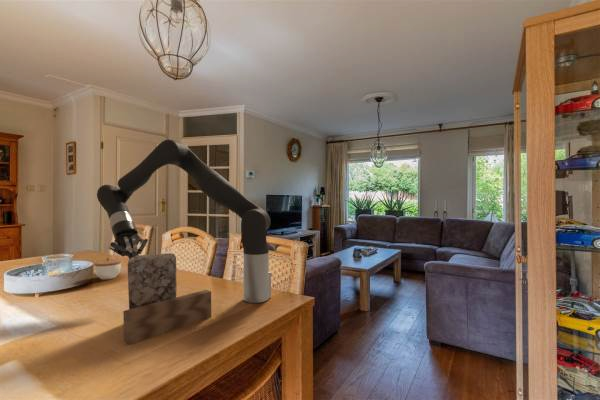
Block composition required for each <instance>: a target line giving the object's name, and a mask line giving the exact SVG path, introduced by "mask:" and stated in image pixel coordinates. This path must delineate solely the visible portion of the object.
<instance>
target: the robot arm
mask: <svg viewBox="0 0 600 400" xmlns="http://www.w3.org/2000/svg"><path fill="white" fill-rule="evenodd" d="M166 165H173V166H176V167H179V168H180V169H182V170H183V171H184V172H186V174H188V175H189V176H191V178H192V179H193V181H194V183H195V185H196V186H197V188H198V189H199V190H200V192H202V193H203V194H204V195H205V196H206V197H208V198H209V199H210V200H212V201H213V202H215V203H216V204H218V205H219V206H221V207H223V208H226V209H227V210H230V211H231V212H233V213H234V214H235V215H237V216H238V217H239V218H240V219H241V220H240V221H241V222H240V233H241V235H240V237H241V246H242V249H243V301H244V302H246V303H250V304H258V303H264V302H266V301H268V300H269V299H270V298H272V273H271V271H270V261H269V259H270V254H269V253H270V252H269V250H270V247H269V244H268V243H267V242H268V240H267V230H269V228H270V226H271V224H272V223H271V217H270V215H269V214H268V212H267V211H266V210H264V209H263V208H261V207H260V206H259V205H257V204H255V203H254V202H252V201H251V200H250V199H248V198H247V197H245V195H244V194H243V193H242V192H241V191H239V190H238V189H237V188H236V186H234V185H232V183H230V182H229V181H228V180H227V179H226V178H225V177H223V176H222V175H221V174H220V173H218V172H217V171H216V170H215V169H213V168H212V167H210V166H209V165H207V164H206V163H205V162H203V161H202V160H201V159H200V158H199V157H198V155H196V154H195V153H194V152H193V151H192V150H191V149H190V147H188V146H187V145H186V144H185V143H183V142H182V141H181V142H180V141H177V140H173V139H165V140H162V141H161V142H160V143H159V144H158V145H157V146H156V147H155V148H154V149H153V150H152V151H151V152H150V153H149V154H148V155H147V156H146V157H145V158H144V159H143V160H142V161H141V162H140V163H139V164H138V165H137V166H136V167H134V168H133V169H131V170H129V172H127V173H126V174H124V175H123V176H122V177H121V178H119V180H118V181H117V187H115V186H113V185H109V184H104V185H103V184H102V185H101V186H99V188H98V189H97V192H96V198H97V201H98V203H99V204H100V205H101V207H102V208H103V209H104V210H105V212H106V213H107V216H108V219H109V225H110V229H111V231H112V235H113V237H114V241H111V242H110V244H109V250H111V251H112V252H115V253H116V254H117V255H119V256H121V257H128V260H129V259H130V258H132V257H135V256H138V255H142V253H143V251H144V250H145V247H146V245H148V241H149V239H148V238H145V239H144V238H142V237H141V235H139V233H138V230H137V227H136V224H135V221H134V219H133V217H132V215H131V213H130V211H129V208H128V206H127V205H126V203H127V202H128V201H129V199H130V198H131V196H132V195H133V194H134V192H136V191H137V190H139V189H140V188H141V187H143V186H145V184H146V183H148V182H149V180H150V179H151V178H152V176H153V174H154V173H155V172H156V171H157V170H158V169H160V168H162V167H164V166H166ZM138 244H140V246H139V248H138Z"/></svg>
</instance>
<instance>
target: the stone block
mask: <svg viewBox="0 0 600 400" xmlns="http://www.w3.org/2000/svg"><path fill="white" fill-rule="evenodd" d="M177 285H178V284H177V258H176V255H175V253H171V252H170V253H153V254H152V253H151V254H138V256H135V257H132V258H130V259H129V258H128V263H127V286H128V287H127V289H128V290H127V291H128V310H130V309H133V308H137V307H141V306H145V305H149V304H153V303H156V302H160V301H164V300H168V299H172V298H176V297H177Z"/></svg>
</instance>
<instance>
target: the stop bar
mask: <svg viewBox="0 0 600 400" xmlns="http://www.w3.org/2000/svg"><path fill="white" fill-rule="evenodd" d="M122 312H123V314H122V315H123V342H124V344H126V345H127V346H131V345H132V344H135V343H138V342H141V341H144V340H147V339H150V338H153V337H156V336H159V335H162V334H165V333H168V332H170V331H174V330H177V329H180V328H183V327H186V326H189V325H191V324H195V323H198V322H200V321H203V320H206V319H208V318H209V319H210V318H212V291H211V290H208V289H203V290H199V291H196V292H192V293H189V294H185V295H184V294H183V295H181V296H176V298H172V299H168V300H164V301H160V302H156V303H153V304H149V305H145V306H141V307H137V308H133V309H130V310H129V309H126V310H123V311H122Z"/></svg>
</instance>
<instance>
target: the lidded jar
mask: <svg viewBox="0 0 600 400" xmlns="http://www.w3.org/2000/svg"><path fill="white" fill-rule="evenodd" d="M121 269H122V260H121V259H117V258H112V259H110V257H106V259H102V260H98V261H95V262H94V271H95V274H96V276H97V277H98V278H99V279H100V280H111V279H114V278H116V277H117V275H119V273H120V271H121Z"/></svg>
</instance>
